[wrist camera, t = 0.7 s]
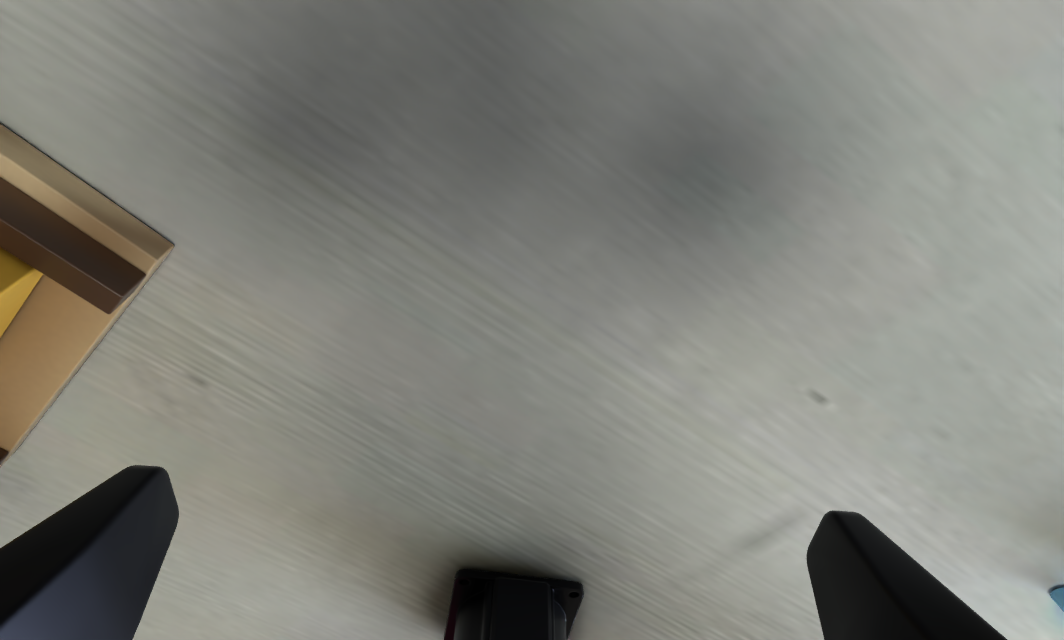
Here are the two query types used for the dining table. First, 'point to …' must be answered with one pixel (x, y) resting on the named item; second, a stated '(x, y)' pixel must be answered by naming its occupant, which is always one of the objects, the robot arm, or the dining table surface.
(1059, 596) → the chair
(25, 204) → the maple track
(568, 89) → the dining table surface
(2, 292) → the ochre block
